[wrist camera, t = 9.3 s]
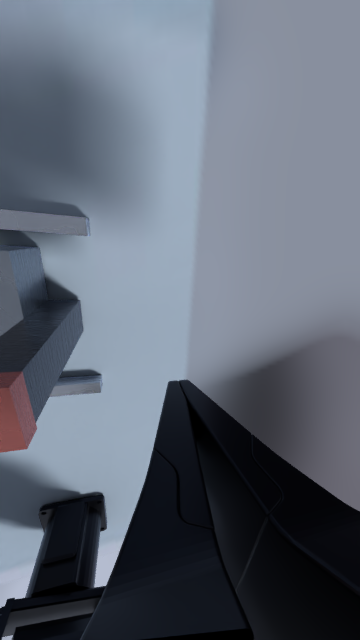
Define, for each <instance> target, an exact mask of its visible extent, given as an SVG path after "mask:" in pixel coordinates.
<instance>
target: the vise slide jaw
mask: <svg viewBox="0 0 360 640" xmlns="http://www.w3.org/2000/svg"><path fill="white" fill-rule="evenodd" d="M82 332H83V323H82V314H81V305H80V300H48V294H47V288H46V283H45V277H44V271H43V265H42V259H41V253H40V248H39V247H27V246H11V245H0V452H8V451H15V450H23V449H27V448H28V446H29V444H30V442H31V440H32V438H33V436H34V434H35V432H36V430H37V427H36V421H37V419H38V417H39V415H40V414H41V412H42V410H43V408H44V406H45V404H46V402H47V400H48V398H49V396H50V394H51V392H52V390H53V388H54V386H55V384H56V383H57V381H58V379H59V377H60V375H61V373H62V371H63V369H64V367H65V365H66V363H67V361H68V359H69V357H70V355H71V354H72V352H73V350H74V348H75V346H76V344H77V342H78V340H79V338H80V336H81V334H82Z"/></svg>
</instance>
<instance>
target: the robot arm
mask: <svg viewBox="0 0 360 640" xmlns="http://www.w3.org/2000/svg"><path fill="white" fill-rule="evenodd" d="M39 518H40V521H41V524H42V527H43V530H44V536H43V539H42V542H41V546H40V549H39V553H38V556H37V559H36V563H35V566H34V569H33V573H32V576H31V579H30V583H29V586H28V590H27V593H26V597H25V598H22V599H15V598H10V599H7V602H6V605H5V606H4V607H2V608H0V640H2V637H5V636H10V635H13V638H12V640H360V511H358V510H356V509H354V508H352V507H350V506H349V505H347V504H345V503H344V502H342V501H341V500H339V499H338V498H337V497H335V496H334V495H332V494H331V493H330V492H328V491H327V490H325V489H324V488H323V487H321V486H320V485H318V484H317V483H315V482H314V481H313V480H312V479H310V478H308V477H307V476H306V475H305V474H303V473H302V472H300V471H299V470H298V469H296V468H295V467H293V466H292V465H291V464H289V463H288V462H287V461H285V460H284V459H283V458H281V457H280V456H279V455H277V454H276V453H275V452H274V451H272V450H271V449H270V448H269V447H267V446H266V445H265V444H264V443H262V442H261V441H260V440H259V439H258V438H257V437H255V436H254V435H251V433H250V432H249V431H248V430H247V429H246V428H244V427H243V426H242V425H241V424H240V423H238V422H237V421H236V420H235V419H234V418H233V417H232V416H230V415H229V414H228V413H227V412H226V411H224V410H223V409H222V408H221V407H219V406H218V405H217V404H216V403H215V402H214V401H213V400H211V399H210V398H209V397H208V396H207V395H205V394H204V393H203V392H202V391H201V390H199V389H198V388H197V387H196V386H195V385H194V384H192V383H191V382H190V381H189V380H179V381H169V382H168V386H167V390H166V395H165V399H164V403H163V408H162V412H161V417H160V421H159V425H158V430H157V434H156V438H155V443H154V447H153V451H152V455H151V460H150V464H149V468H148V472H147V475H146V479H145V482H144V485H143V488H142V491H141V494H140V497H139V500H138V503H137V505H136V508H135V511H134V514H133V516H132V519H131V522H130V525H129V527H128V530H127V533H126V536H125V538H124V541H123V544H122V547H121V549H120V552H119V555H118V557H117V560H116V563H115V565H114V568H113V571H112V573H111V575H110V578H109V580H108V583H107V585H106V586H103V587H96V588H94V583H95V574H96V565H97V564H96V563H97V556H98V547H99V537H100V531H104V530H106V528H107V518H106V509H105V499H104V496H103V495H99V496H93V497H88V498H83V499H78V500H73V501H68V502H63V503H57V504H52V505H47V506H43V507H41V508H40V511H39ZM14 599H15V600H14Z"/></svg>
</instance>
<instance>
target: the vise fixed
mask: <svg viewBox="0 0 360 640" xmlns="http://www.w3.org/2000/svg"><path fill="white" fill-rule="evenodd" d="M0 229H7V230H19V231H32V232H45V233H57V234H70V235H83V236H90V226H89V219H88V218H86V217H75V216H65V215H55V214H45V213H35V212H24V211H14V210H4V209H0ZM101 389H102V375H93V376H78V377H63V378H59V379H58V381H57V383H56V384H55V386H54V388H53V390H52V392H51V394H50V396H49V397H53V396H65V395H76V394H88V393H100V392H101Z"/></svg>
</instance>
